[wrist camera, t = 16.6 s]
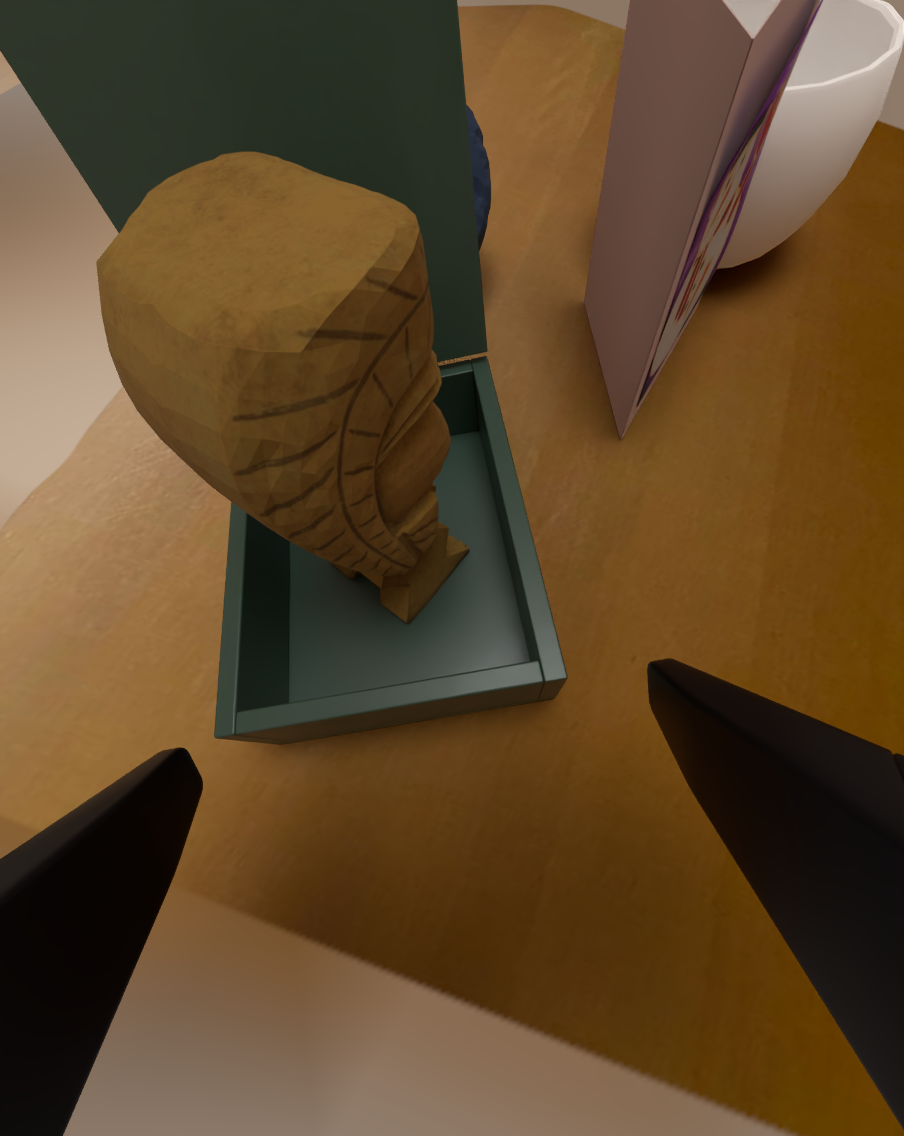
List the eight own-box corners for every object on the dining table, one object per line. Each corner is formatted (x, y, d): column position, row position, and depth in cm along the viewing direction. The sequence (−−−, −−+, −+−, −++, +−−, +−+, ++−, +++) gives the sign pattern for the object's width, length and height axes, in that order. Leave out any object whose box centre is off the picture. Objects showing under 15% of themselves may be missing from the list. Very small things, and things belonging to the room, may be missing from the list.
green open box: (555, 698, 20) (568, 678, 15) (279, 745, 20) (212, 738, 16) (491, 426, 26) (486, 355, 22) (283, 468, 27) (237, 407, 22)
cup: (566, 273, 31) (587, 76, 22) (654, 176, 34) (703, -30, 25) (749, 334, 27) (864, 121, 18) (829, 217, 30) (961, -13, 21)
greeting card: (636, 445, 24) (791, 41, 11) (515, 401, 27) (517, 22, 13) (711, 311, 28) (903, -129, 14) (597, 282, 30) (667, -121, 16)
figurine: (488, 552, 22) (448, 206, 8) (401, 657, 20) (178, 440, 7) (386, 485, 24) (227, 131, 11) (301, 574, 23) (-10, 291, 9)
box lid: (408, -569, 8) (395, -446, 10) (-262, -350, 8) (-118, -287, 11) (487, 351, 21) (473, 306, 24) (231, 406, 22) (244, 356, 24)
